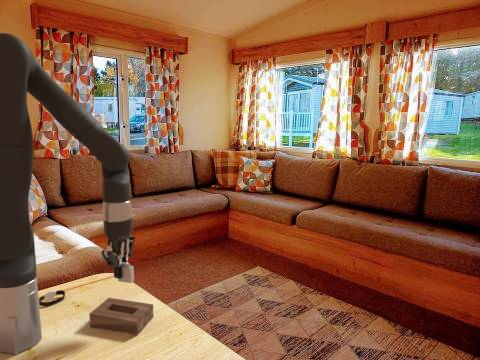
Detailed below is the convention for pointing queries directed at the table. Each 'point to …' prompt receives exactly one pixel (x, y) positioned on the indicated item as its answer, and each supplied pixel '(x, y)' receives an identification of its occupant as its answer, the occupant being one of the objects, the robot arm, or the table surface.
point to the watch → (50, 295)
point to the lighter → (127, 273)
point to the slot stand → (121, 316)
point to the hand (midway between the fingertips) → (120, 275)
